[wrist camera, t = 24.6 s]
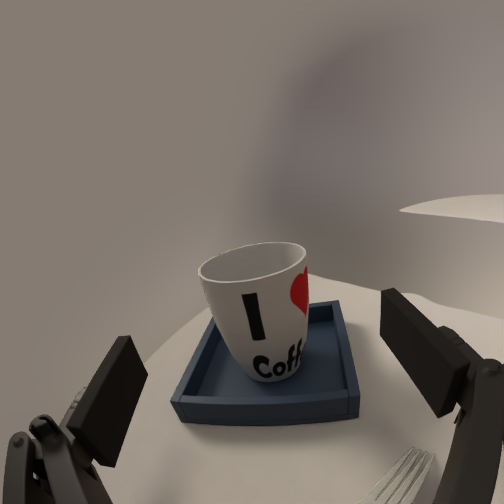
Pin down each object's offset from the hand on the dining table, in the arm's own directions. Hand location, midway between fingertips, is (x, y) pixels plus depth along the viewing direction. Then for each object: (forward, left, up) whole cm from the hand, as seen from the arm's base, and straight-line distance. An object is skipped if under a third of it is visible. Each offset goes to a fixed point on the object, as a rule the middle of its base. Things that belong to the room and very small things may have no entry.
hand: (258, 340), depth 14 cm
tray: (-1, +8, -9) cm, 12 cm away
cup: (-1, +8, -9) cm, 12 cm away
